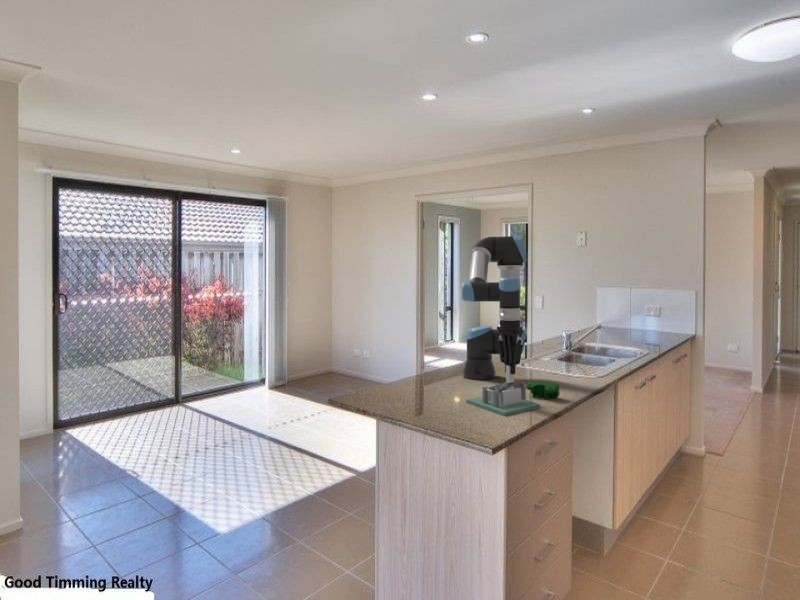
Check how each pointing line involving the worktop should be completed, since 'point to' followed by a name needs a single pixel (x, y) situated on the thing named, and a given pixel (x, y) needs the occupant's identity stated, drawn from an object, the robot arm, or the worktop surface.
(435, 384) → the worktop surface
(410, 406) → the worktop surface
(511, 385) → the grey flat bar
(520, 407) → the board
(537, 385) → the clamp
